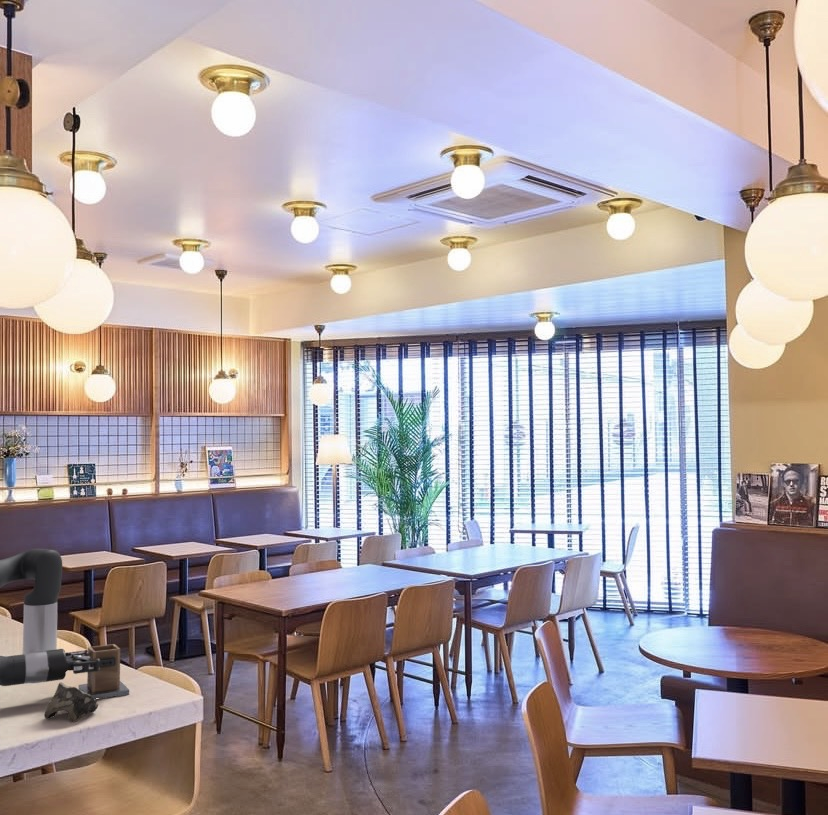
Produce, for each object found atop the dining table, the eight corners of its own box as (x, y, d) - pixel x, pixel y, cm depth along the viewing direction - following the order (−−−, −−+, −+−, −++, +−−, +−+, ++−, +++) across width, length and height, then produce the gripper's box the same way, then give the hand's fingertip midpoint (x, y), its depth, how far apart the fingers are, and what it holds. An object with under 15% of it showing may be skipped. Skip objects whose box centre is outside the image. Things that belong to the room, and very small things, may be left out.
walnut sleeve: (87, 686, 213) (88, 647, 213) (113, 682, 216) (114, 644, 217) (92, 692, 207) (93, 652, 208) (119, 688, 210) (120, 648, 211)
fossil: (107, 707, 197) (99, 675, 193) (88, 736, 188) (78, 703, 184) (66, 703, 198) (56, 671, 194) (45, 732, 190) (34, 700, 186)
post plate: (78, 689, 214) (79, 657, 214) (118, 683, 219) (118, 652, 220) (87, 700, 204) (88, 667, 204) (129, 694, 209) (129, 661, 210)
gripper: (39, 675, 210) (105, 666, 219) (48, 688, 198) (117, 678, 207) (39, 645, 210) (105, 638, 219) (49, 656, 199) (118, 648, 207)
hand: (111, 657), depth 213 cm, fingers open, 8 cm apart
